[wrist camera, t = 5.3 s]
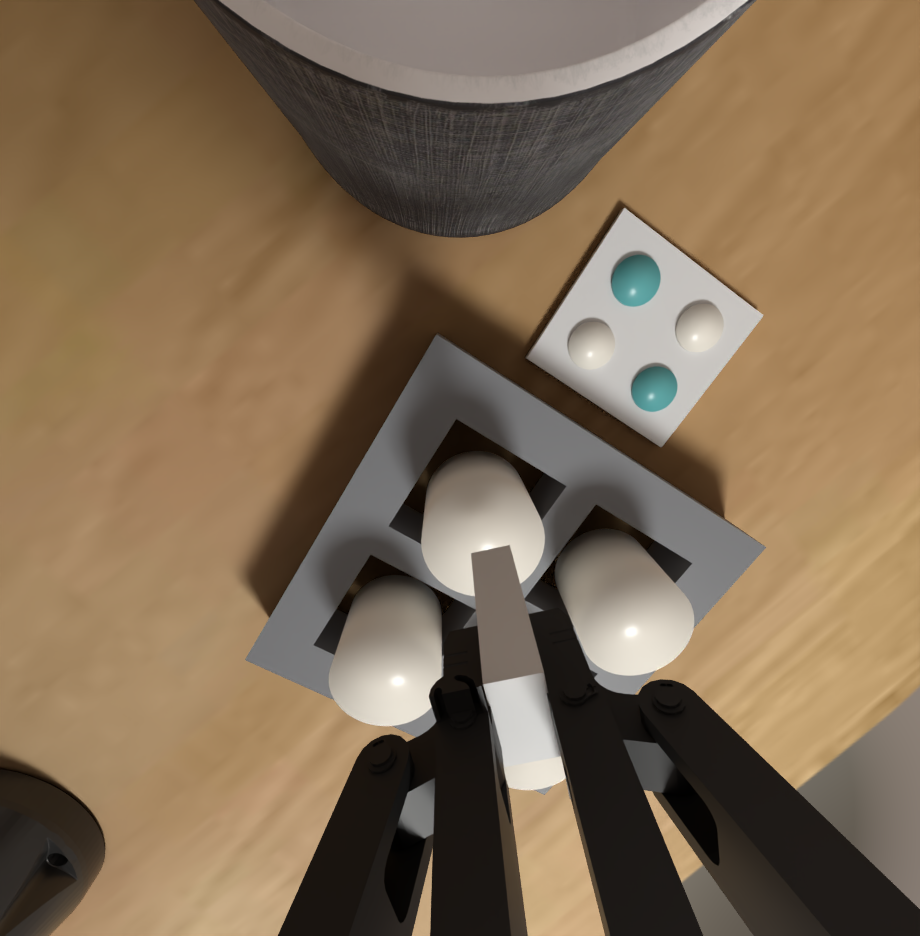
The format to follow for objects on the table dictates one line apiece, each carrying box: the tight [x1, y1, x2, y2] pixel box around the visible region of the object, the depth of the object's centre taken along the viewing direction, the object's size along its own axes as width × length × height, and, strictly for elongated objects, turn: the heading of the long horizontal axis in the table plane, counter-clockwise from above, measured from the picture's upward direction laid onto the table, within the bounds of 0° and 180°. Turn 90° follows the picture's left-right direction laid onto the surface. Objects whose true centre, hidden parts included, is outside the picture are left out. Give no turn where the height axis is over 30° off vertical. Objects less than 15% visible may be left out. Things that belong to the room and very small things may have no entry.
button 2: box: [421, 451, 545, 596], centre depth 23 cm, size 6×6×6 cm
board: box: [245, 333, 766, 795], centre depth 29 cm, size 22×22×4 cm
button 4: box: [555, 529, 694, 676], centre depth 25 cm, size 6×6×6 cm
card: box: [525, 208, 763, 448], centre depth 26 cm, size 10×9×1 cm
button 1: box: [329, 575, 442, 726], centre depth 25 cm, size 6×6×6 cm
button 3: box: [503, 756, 566, 790], centre depth 27 cm, size 6×6×6 cm
